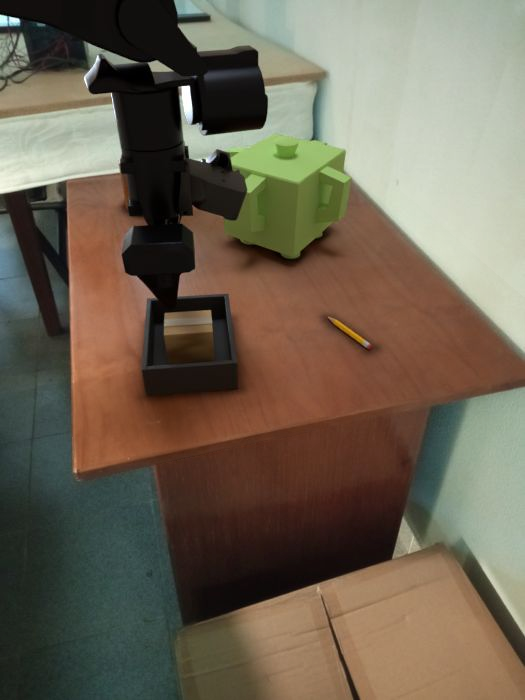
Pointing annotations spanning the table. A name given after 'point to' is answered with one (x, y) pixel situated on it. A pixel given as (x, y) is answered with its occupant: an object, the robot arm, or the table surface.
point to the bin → (198, 374)
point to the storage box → (288, 192)
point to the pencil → (351, 333)
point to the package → (189, 337)
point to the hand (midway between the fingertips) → (171, 283)
